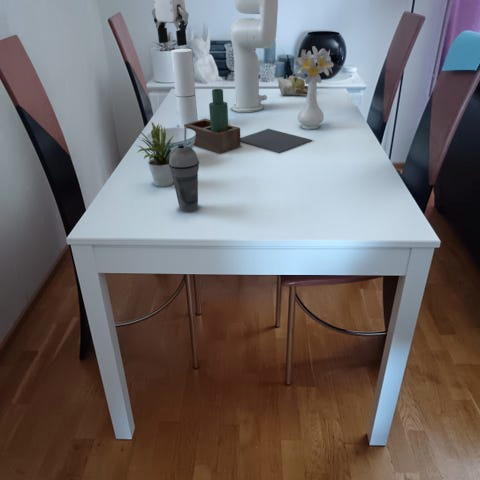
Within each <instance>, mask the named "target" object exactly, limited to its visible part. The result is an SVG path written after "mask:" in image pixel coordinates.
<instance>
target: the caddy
mask: <svg viewBox="0 0 480 480" xmlns="http://www.w3.org/2000/svg"><path fill="white" fill-rule="evenodd" d="M184 126H186V128H187V129H191V130H193V131H195V133H196V137H195V143H194V146H195V147H198V148H200V149H204V150H207V151H211V152H213V153H216V154H222V153H226V152H228V151H232V150H234V149H237V148H240V147H242V144H241V143H242V142H241V140H240V138H241V127H238V126H235V125H231V124H228V127H229V130H226V131H223V132H220V133H218V132H215V131H211V125H210V118H209V119H208V118H202V119H199V120H198V121H195V122H191V123H188V124H184ZM194 146H193V147H194Z"/></svg>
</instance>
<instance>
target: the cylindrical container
mask: <svg viewBox="0 0 480 480" xmlns="http://www.w3.org/2000/svg"><path fill="white" fill-rule="evenodd" d="M170 54H171V55H170V56H171V64H172V72H173V73H172V74H173V82H174V92H175V102H176V110H177V119H178V120H177V121H178V128H184V124H188V123H191V122H195V121H198V107H197V96H196V84H195V71H194V58H193V50H192V49H190V48H177V49H172V50H170Z"/></svg>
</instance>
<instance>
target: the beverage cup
mask: <svg viewBox="0 0 480 480" xmlns="http://www.w3.org/2000/svg"><path fill="white" fill-rule="evenodd" d="M199 165H200V160H199V158H198V155H197V153H196V151H195V150H194V149H193V148H190V147H188V146H186V126H184V145H182V146H178V147H176V148H175V149H174V150H173V151H172V153H171V155H170V158H169V166H170V169H171V173H172V175H173V184H174V189H175V193H176V199H177V203H178V206H179V211H181V212H182V213H193V212H195V211H197V210H198V206H199V205H198V204H199V167H200V166H199Z"/></svg>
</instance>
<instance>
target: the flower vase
mask: <svg viewBox="0 0 480 480" xmlns="http://www.w3.org/2000/svg"><path fill="white" fill-rule="evenodd" d="M311 48H312V50H308V51H307V50H306V49H301V52H300V56H298V57H297V59H296V61H295V63H294V64H295V66H296V67H295V69H294V72H296V73H297V74H303V75H306V77H305V80H304V82H305V85H307V86H308V92H307V95H306V100H305V103H304V105H303V107H302V108H301V109H300V111H299V112H298V114H297V121H298V122H299V124H300V125H301V128H302V129H304V130H315V129H319V127H320V125H321V124H322V123H323V121H324V119H325V116H324V112H323V111H322V109H321V108H320V106H319V104H318V98H317V92H318V91H317V87H318V86H317V85H318V84H320V83H322V77H321V76H320V74H322V73H323V74H325V75H326V76H327V77H328V76H330V73H331V74H333V70H332V68H333V67H334V65H335V64H334V62H333V61H332V57H331V56H330V55H331V54H330V53H331V52H330V51H331V49H329V50H328V51H327V50H326V49H325V48H321V49H320V50H318V49H317V47H316V46H315V45H313V46H311ZM306 51H307V52H306ZM311 51H312V52H311ZM312 53H313V54H312Z"/></svg>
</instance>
